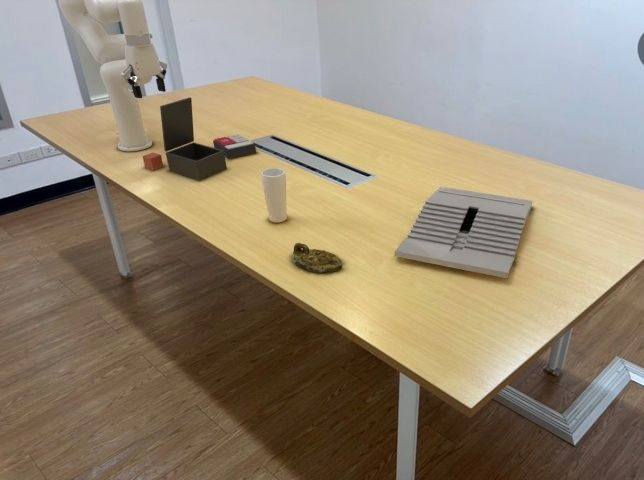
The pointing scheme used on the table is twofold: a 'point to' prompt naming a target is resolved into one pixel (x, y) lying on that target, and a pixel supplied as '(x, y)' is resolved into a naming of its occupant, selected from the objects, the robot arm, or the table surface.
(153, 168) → the block
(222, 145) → the calculator
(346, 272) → the table surface
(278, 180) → the drinking glass
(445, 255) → the grey grooved board
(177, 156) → the case
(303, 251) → the seal
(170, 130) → the case lid
